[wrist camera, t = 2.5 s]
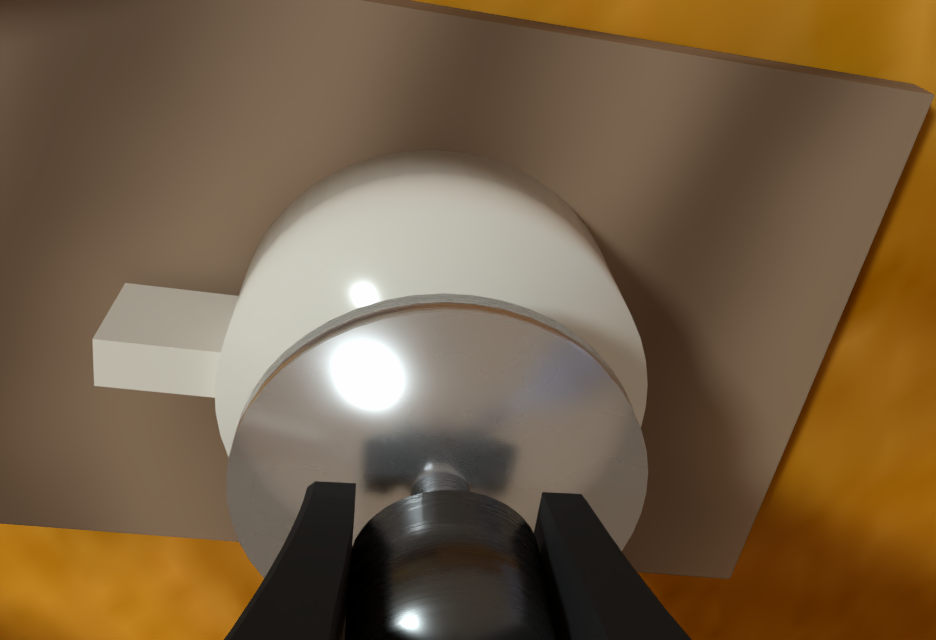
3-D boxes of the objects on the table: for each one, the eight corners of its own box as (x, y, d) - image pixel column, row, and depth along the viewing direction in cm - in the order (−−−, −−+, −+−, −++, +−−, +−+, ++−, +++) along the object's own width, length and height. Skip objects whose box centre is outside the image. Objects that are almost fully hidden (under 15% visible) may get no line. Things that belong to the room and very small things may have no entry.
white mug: (656, 180, 18) (701, 241, 15) (567, 489, 22) (591, 581, 19) (128, 104, 16) (77, 158, 14) (132, 450, 20) (93, 544, 18)
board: (913, 84, 18) (934, 94, 17) (720, 557, 24) (729, 579, 24) (-153, -94, 15) (-179, -89, 14) (-66, 494, 21) (-81, 517, 21)
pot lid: (688, 321, 14) (797, 506, 10) (587, 628, 17) (641, 855, 13) (243, 267, 13) (178, 451, 9) (223, 603, 16) (171, 841, 12)
